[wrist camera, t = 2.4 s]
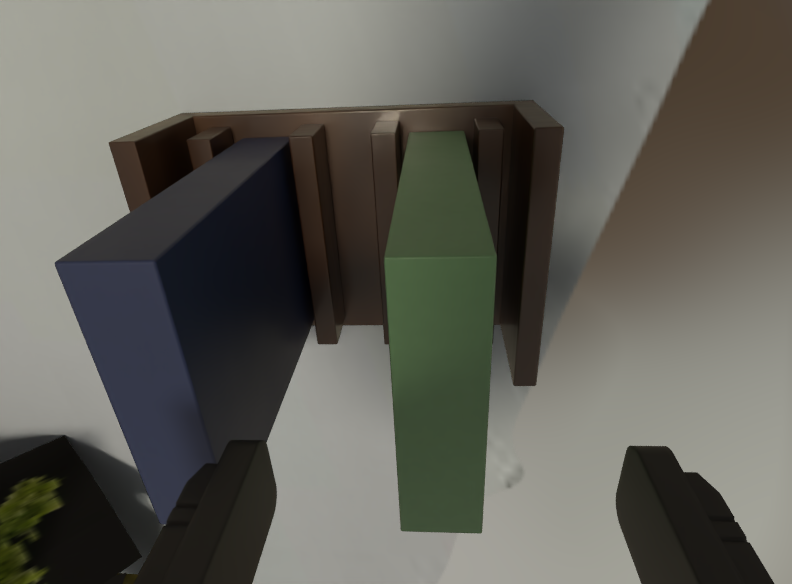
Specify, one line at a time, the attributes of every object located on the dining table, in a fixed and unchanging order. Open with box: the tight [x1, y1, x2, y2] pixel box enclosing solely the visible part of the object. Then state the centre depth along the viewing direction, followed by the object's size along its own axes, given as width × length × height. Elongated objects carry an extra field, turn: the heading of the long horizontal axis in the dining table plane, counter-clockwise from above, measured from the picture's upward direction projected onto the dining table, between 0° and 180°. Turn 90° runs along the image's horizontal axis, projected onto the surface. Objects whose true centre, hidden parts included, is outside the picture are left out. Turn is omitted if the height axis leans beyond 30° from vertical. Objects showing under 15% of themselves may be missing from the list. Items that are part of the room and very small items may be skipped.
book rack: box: [109, 100, 564, 386], centre depth 23 cm, size 16×11×6 cm
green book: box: [384, 131, 497, 533], centre depth 19 cm, size 2×9×13 cm, turn 2°
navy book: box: [55, 137, 314, 524], centre depth 19 cm, size 2×9×13 cm, turn 3°
